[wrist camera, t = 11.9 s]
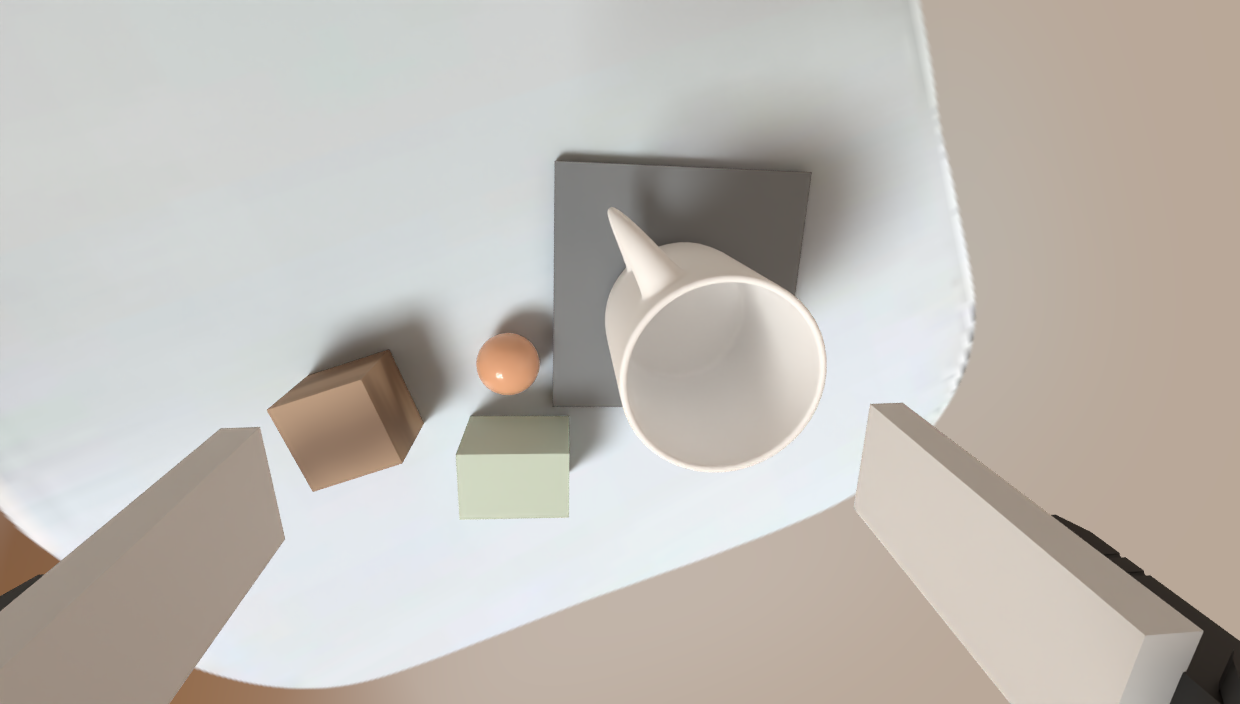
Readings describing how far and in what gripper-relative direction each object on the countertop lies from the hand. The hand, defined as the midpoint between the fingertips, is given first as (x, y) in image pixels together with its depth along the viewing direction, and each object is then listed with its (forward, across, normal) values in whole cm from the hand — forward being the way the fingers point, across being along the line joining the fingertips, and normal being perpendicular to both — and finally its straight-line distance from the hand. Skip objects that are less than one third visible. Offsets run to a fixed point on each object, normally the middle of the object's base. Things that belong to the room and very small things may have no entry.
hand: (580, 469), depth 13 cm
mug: (+21, +5, -1) cm, 22 cm away
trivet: (+22, +6, -1) cm, 23 cm away
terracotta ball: (+20, -4, -5) cm, 21 cm away
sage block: (+22, -3, -11) cm, 25 cm away
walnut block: (+22, -12, -8) cm, 26 cm away
